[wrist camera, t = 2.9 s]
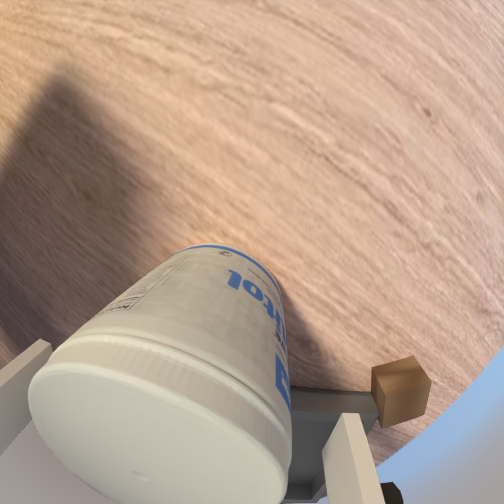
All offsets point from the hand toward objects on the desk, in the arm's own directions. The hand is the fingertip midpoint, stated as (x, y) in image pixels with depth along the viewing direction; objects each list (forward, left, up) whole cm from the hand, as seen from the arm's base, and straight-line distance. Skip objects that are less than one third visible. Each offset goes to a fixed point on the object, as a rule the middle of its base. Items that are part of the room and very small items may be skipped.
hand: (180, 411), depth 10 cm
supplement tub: (0, 0, -11) cm, 11 cm away
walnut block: (+16, -5, -11) cm, 20 cm away
